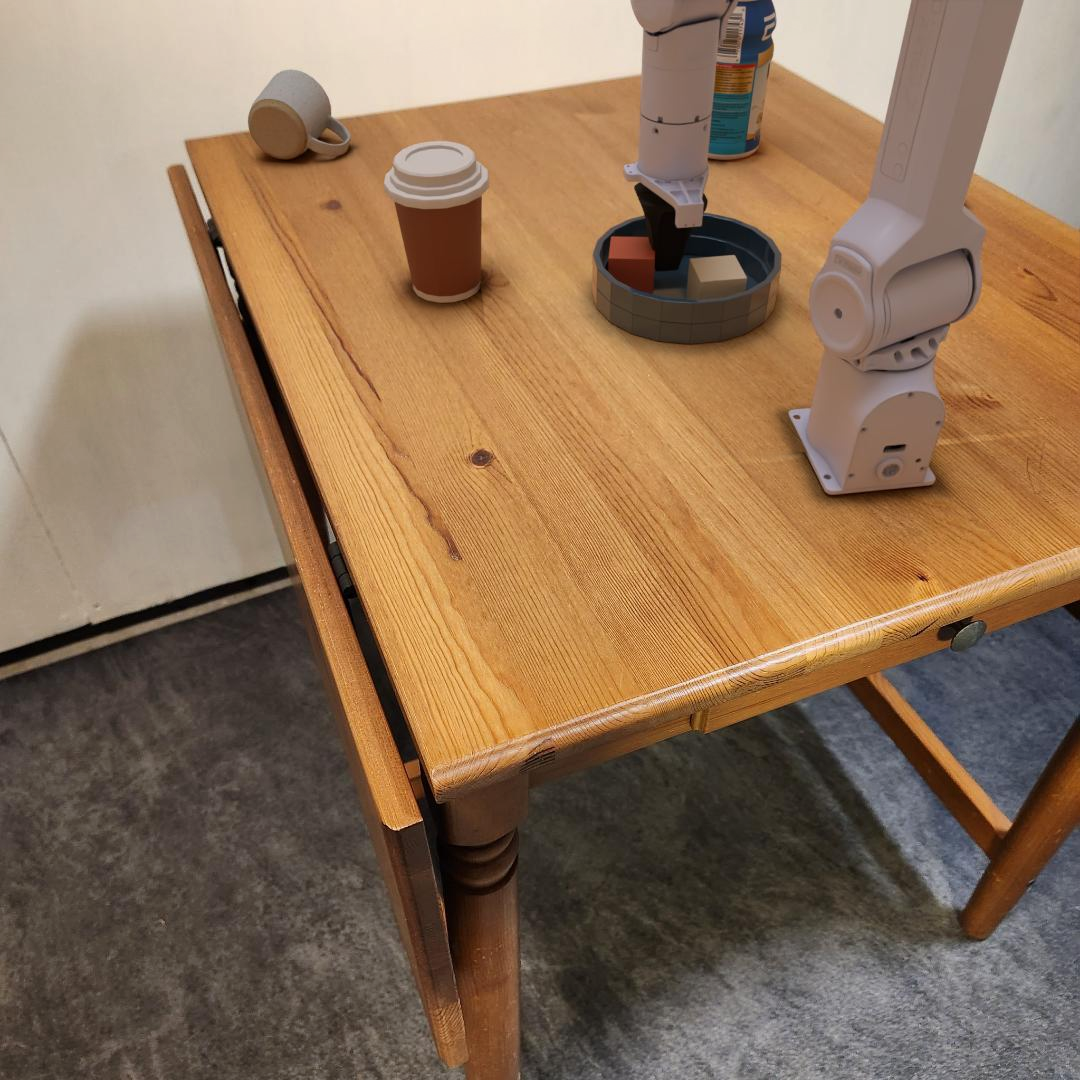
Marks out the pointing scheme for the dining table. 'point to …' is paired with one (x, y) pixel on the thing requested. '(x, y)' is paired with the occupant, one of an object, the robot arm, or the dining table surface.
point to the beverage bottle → (742, 80)
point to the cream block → (714, 277)
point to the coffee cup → (440, 217)
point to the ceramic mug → (294, 117)
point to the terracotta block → (632, 262)
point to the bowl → (668, 306)
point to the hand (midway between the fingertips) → (665, 267)
